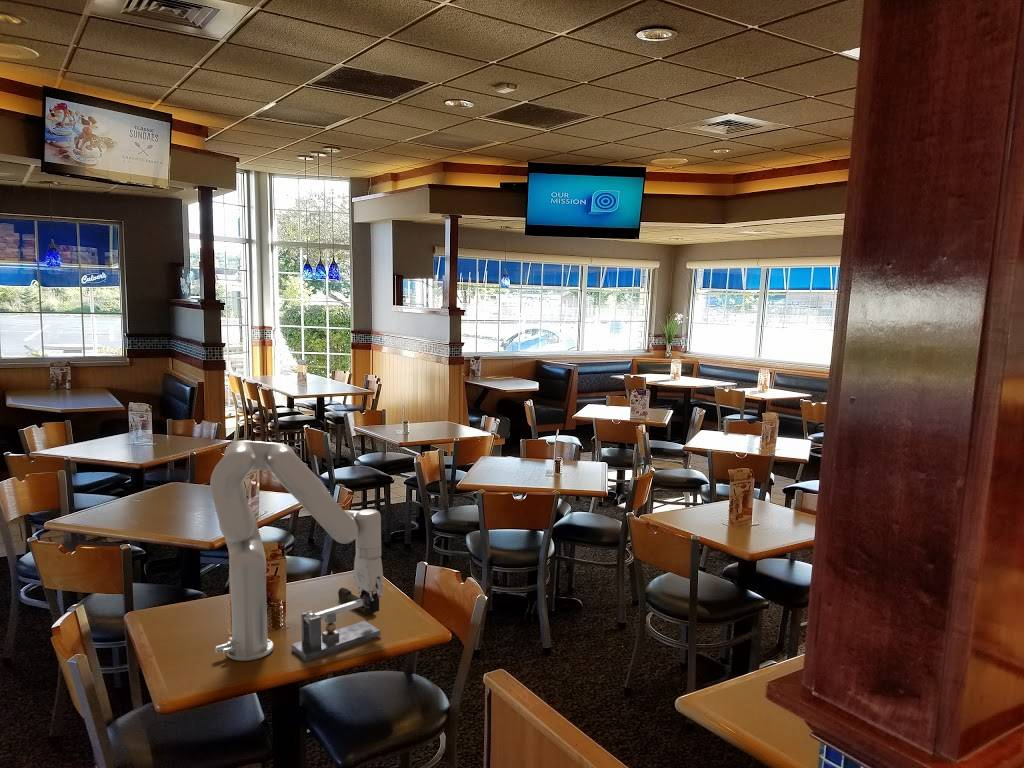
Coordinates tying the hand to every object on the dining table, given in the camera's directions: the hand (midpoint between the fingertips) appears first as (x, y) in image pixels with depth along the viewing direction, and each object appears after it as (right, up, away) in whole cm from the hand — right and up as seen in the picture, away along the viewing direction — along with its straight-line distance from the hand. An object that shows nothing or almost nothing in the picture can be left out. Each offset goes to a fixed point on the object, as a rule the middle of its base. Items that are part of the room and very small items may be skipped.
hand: (369, 608), depth 222 cm
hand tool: (-9, -6, +19) cm, 22 cm away
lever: (-7, -1, -6) cm, 9 cm away
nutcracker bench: (-9, -8, -7) cm, 14 cm away
